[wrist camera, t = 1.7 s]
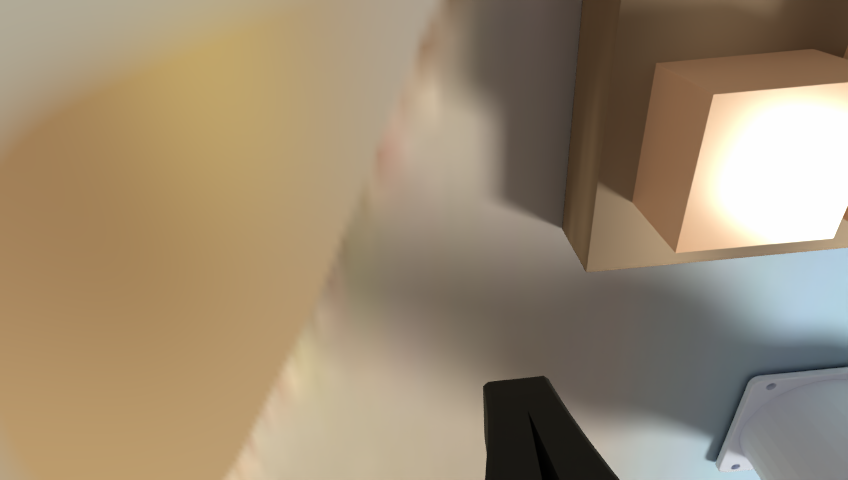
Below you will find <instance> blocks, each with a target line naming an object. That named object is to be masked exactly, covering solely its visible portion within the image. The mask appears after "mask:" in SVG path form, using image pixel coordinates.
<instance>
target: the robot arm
mask: <svg viewBox="0 0 848 480" xmlns="http://www.w3.org/2000/svg"><path fill="white" fill-rule="evenodd" d="M483 398H484V433H485V444H486V451H487V460H486V476H485V480H619V478H618V477H617V476H616V475H615V473H614V472H613V471H612V470H611V468H610V467H609V466H608V464H607V463H606V462H605V461H604V459H603V458H602V457H601V455H600V454H599V453H598V451H597V450H596V449H595V448H594V446H593V445H592V444H591V442H590V441H589V440H588V438H587V437H586V435H585V434H584V433H583V431H582V430H581V428H580V427H579V426H578V424H577V423H576V421H575V420H574V418H573V417H572V416H571V414H570V413H569V411H568V410H567V408H566V407H565V405H564V404H563V402H562V401H561V399H560V397H559V396H558V394H557V393H556V391H555V389H554V388H553V386H552V384H551V383H550V381H549V379H547V378H546V377H545V376H539V377H530V378H521V379H512V380H502V381H493V382H488V383H486V384H485V385H484V386H483ZM716 467H717V468H718V470H719V471H721V472H732V471H742V470H752V469H754V470H755V471H756V473H757V474H758V476H759V477H760V479H761V480H848V367H843V368H833V369H822V370H812V371H802V372H792V373H782V374H771V375H761V376H756V377H754V378H752V379H751V380H750V381H749V382H748V384H747V387H746V389H745V392H744V394H743V397H742V399H741V402H740V404H739V407H738V409H737V412H736V414H735V417H734V419H733V422H732V424H731V426H730V429H729V431H728V434H727V436H726V439H725V441H724V444H723V446H722V449H721V451H720V454H719V456H718V459H717V461H716Z"/></svg>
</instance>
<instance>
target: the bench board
mask: <svg viewBox="0 0 848 480" xmlns="http://www.w3.org/2000/svg"><path fill="white" fill-rule="evenodd" d="M847 46H848V0H583V3H582V14H581V25H580V36H579V47H578V59H577V70H576V81H575V92H574V103H573V115H572V126H571V137H570V148H569V159H568V170H567V182H566V193H565V204H564V215H563V226H562V229H563V231H564V233H565V235H566V237H567V238H568V240H569V242H570V244H571V246H572V247H573V249H574V251H575V253H576V255H577V256H578V258H579V260H580V262H581V264H582V265H583V267H584V269H585V271H586V272H596V271H606V270H617V269H627V268H638V267H648V266H659V265H669V264H680V263H690V262H701V261H711V260H722V259H732V258H743V257H753V256H764V255H774V254H785V253H795V252H806V251H816V250H827V249H837V248H848V221H846V220H845V219H843V218H842V219H841V221H840V223H839V226H838V228H837V230H836V233H835V235H834V237H833V238H830V239H820V240H809V241H799V242H788V243H778V244H767V245H757V246H746V247H736V248H725V249H714V250H704V251H693V252H683V253H675V252H674V251H673V250H672V249H671V247H670V246H669V245H668V244H667V243H666V242H665V240H664V239H663V238H662V237H661V236H660V235H659V233H658V232H657V231H656V230H655V229H654V227H653V226H652V225H651V224H650V223H649V222H648V220H647V219H646V218H645V217H644V216H643V215H642V213H641V212H640V211H639V210H638V209H637V207H636V206H635V205H634V204H633V203H632V200H633V195H634V189H635V183H636V177H637V171H638V166H639V160H640V154H641V148H642V142H643V137H644V131H645V125H646V119H647V113H648V108H649V102H650V96H651V90H652V84H653V79H654V73H655V67H656V63H663V62H674V61H685V60H696V59H707V58H718V57H729V56H740V55H751V54H762V53H773V52H784V51H795V50H806V49H815V50H818V51H822V52H825V53H828V54H831V55H834V56H838V57H841V58H843V57H844V55H845V52H846V49H847Z"/></svg>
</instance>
